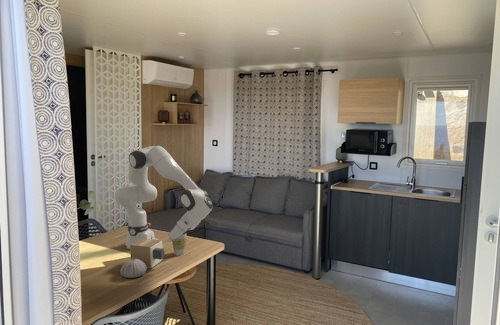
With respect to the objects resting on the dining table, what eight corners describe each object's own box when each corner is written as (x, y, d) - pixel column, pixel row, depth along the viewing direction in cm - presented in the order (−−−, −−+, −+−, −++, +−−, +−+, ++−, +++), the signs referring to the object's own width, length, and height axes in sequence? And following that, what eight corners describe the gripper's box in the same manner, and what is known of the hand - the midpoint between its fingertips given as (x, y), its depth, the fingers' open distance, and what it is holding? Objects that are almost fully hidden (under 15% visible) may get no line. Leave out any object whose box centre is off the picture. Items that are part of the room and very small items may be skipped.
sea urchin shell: (133, 281, 187) (132, 266, 186) (114, 276, 194) (113, 261, 193) (152, 272, 199) (151, 257, 198) (133, 267, 205) (133, 253, 204)
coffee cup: (169, 252, 229) (168, 228, 227) (184, 249, 233) (184, 226, 232) (173, 257, 220) (173, 232, 218) (189, 254, 225) (189, 230, 223)
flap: (161, 259, 215) (161, 240, 214) (170, 260, 214) (170, 241, 213) (150, 267, 204) (150, 247, 203) (160, 268, 202) (159, 248, 201)
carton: (142, 258, 219) (141, 238, 217) (161, 260, 216) (160, 239, 214) (130, 266, 207) (130, 244, 206) (150, 268, 204) (149, 246, 203)
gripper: (193, 212, 208) (177, 228, 212) (176, 221, 189) (159, 239, 192) (201, 220, 208) (185, 236, 211) (185, 231, 188) (168, 248, 192)
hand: (173, 238), depth 202 cm, fingers open, 8 cm apart
